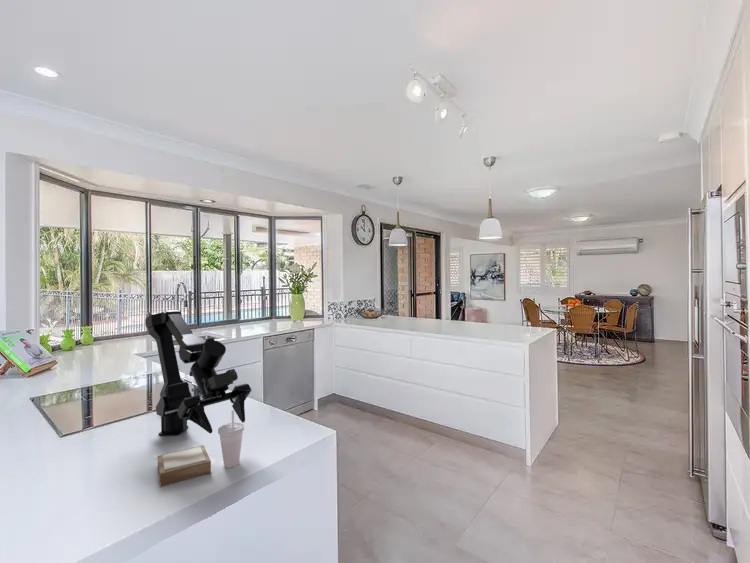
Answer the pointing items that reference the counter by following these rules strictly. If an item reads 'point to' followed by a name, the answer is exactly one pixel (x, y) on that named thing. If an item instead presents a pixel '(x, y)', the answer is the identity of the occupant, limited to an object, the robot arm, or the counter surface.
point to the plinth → (183, 465)
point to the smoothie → (231, 442)
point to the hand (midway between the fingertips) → (228, 426)
